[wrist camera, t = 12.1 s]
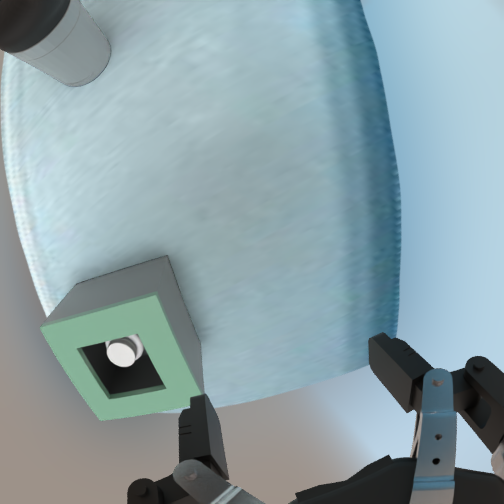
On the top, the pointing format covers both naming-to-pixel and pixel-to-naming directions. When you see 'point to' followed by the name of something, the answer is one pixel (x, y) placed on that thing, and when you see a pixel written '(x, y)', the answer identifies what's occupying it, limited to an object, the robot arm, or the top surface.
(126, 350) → the supplement bottle
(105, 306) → the box
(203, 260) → the top surface
